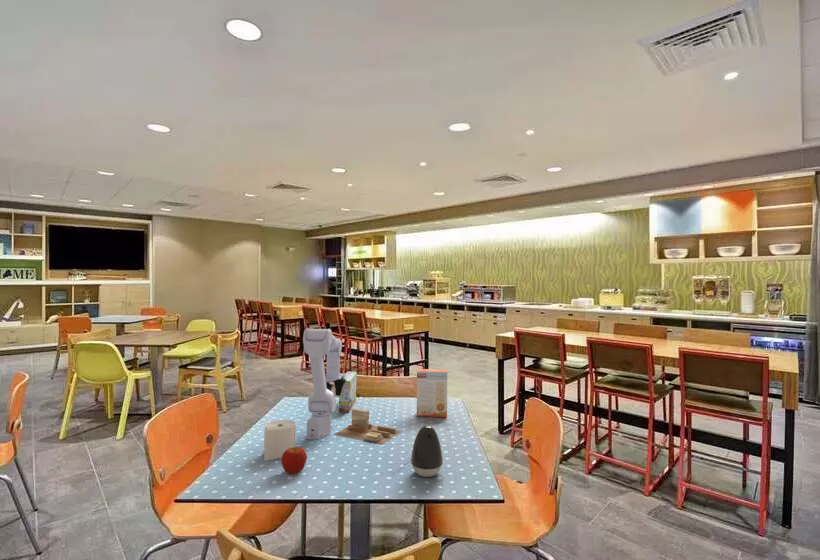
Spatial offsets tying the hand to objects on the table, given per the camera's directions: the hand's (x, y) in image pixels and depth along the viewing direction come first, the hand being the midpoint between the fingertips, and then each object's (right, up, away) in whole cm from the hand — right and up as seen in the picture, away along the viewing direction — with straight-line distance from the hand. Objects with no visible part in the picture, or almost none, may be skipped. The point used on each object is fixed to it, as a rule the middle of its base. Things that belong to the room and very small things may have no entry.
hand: (332, 397), depth 182 cm
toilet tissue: (-12, -10, -34) cm, 38 cm away
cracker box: (+44, -11, +11) cm, 47 cm away
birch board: (+13, -9, -11) cm, 20 cm away
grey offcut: (+20, -9, -23) cm, 32 cm away
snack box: (+3, -11, +23) cm, 26 cm away
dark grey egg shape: (+39, -11, -48) cm, 63 cm away
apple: (-3, -10, -48) cm, 50 cm away
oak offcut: (+20, -8, -23) cm, 32 cm away
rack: (+17, -11, -16) cm, 26 cm away
